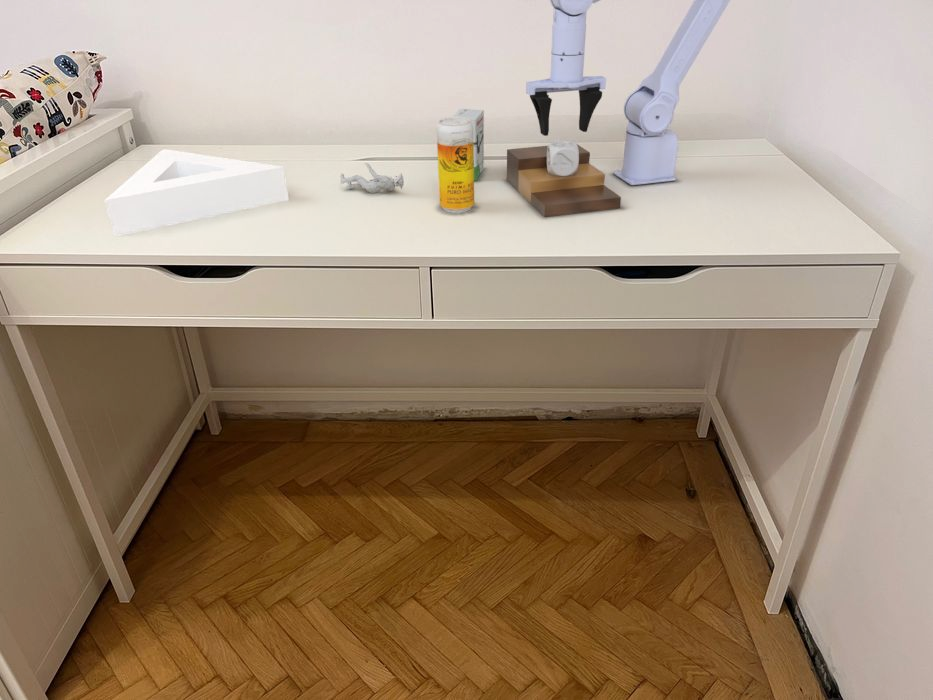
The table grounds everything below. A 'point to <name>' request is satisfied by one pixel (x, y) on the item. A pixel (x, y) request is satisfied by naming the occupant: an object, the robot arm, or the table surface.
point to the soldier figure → (373, 182)
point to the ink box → (476, 136)
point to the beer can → (455, 164)
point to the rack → (558, 184)
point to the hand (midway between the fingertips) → (563, 132)
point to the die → (562, 158)
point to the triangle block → (191, 190)
